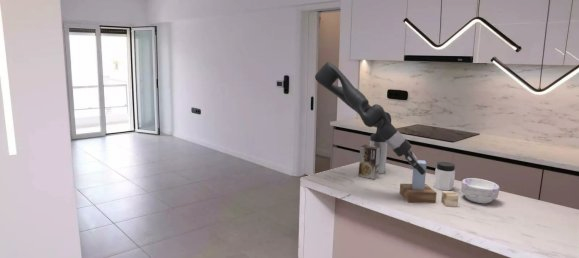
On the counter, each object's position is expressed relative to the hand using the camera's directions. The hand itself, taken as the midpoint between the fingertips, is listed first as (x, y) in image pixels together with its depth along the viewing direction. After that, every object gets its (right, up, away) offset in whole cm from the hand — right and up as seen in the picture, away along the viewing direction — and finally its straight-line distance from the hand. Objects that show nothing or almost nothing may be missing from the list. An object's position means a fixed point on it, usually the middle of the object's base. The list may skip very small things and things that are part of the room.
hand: (422, 170), depth 177 cm
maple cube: (+10, -14, -4) cm, 18 cm away
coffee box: (-18, -6, +32) cm, 37 cm away
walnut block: (-2, -13, +3) cm, 13 cm away
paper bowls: (+26, -13, +3) cm, 29 cm away
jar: (+16, -10, +18) cm, 26 cm away
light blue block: (-1, -8, +2) cm, 8 cm away
